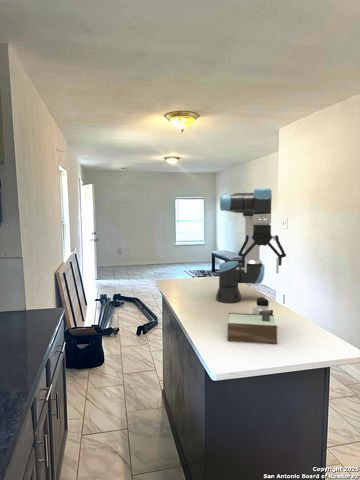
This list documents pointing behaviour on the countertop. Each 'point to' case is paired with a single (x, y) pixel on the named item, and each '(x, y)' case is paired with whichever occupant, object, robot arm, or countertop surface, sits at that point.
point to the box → (252, 332)
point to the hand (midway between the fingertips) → (261, 272)
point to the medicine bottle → (262, 306)
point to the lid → (253, 319)
